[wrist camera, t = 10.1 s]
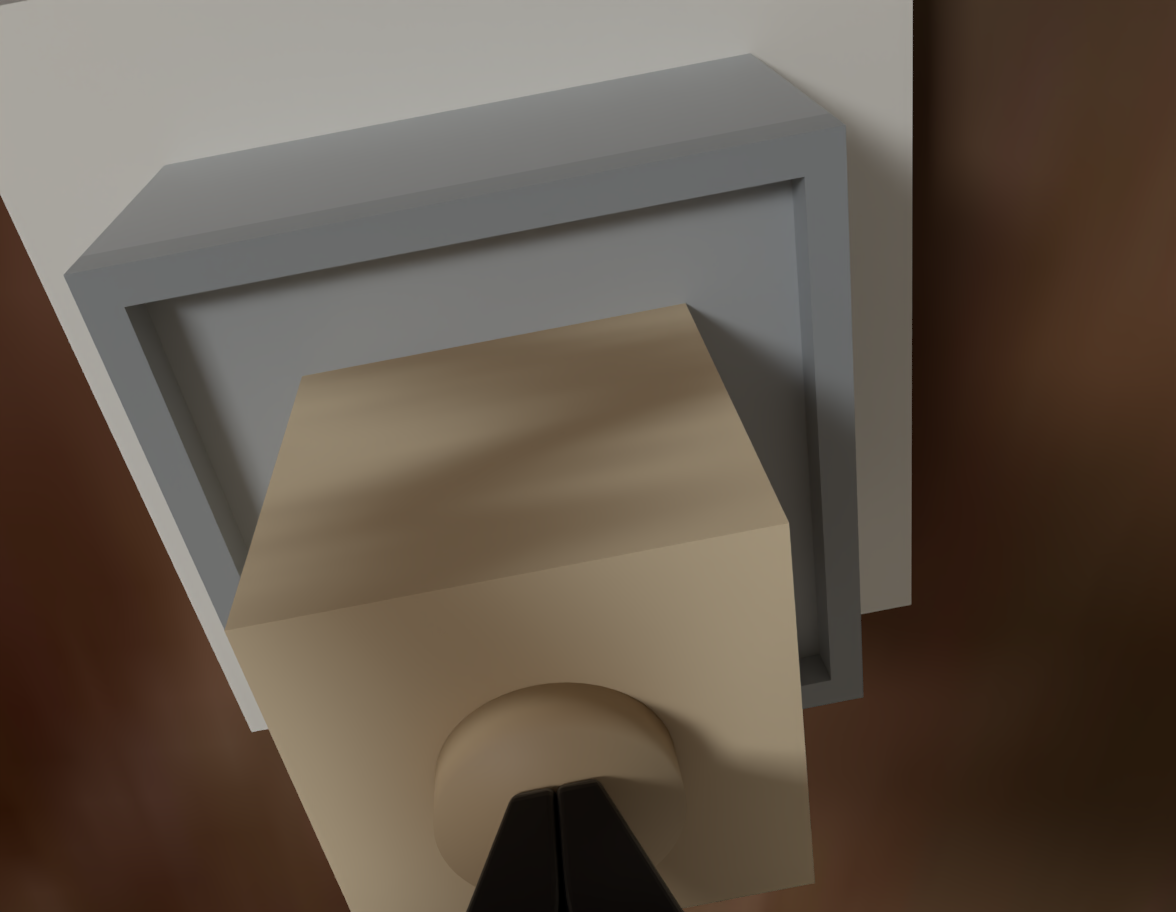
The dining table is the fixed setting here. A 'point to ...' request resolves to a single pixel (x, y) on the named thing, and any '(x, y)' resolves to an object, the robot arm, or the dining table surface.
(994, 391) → the dining table surface
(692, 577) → the snap block
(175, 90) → the grey square base plate
